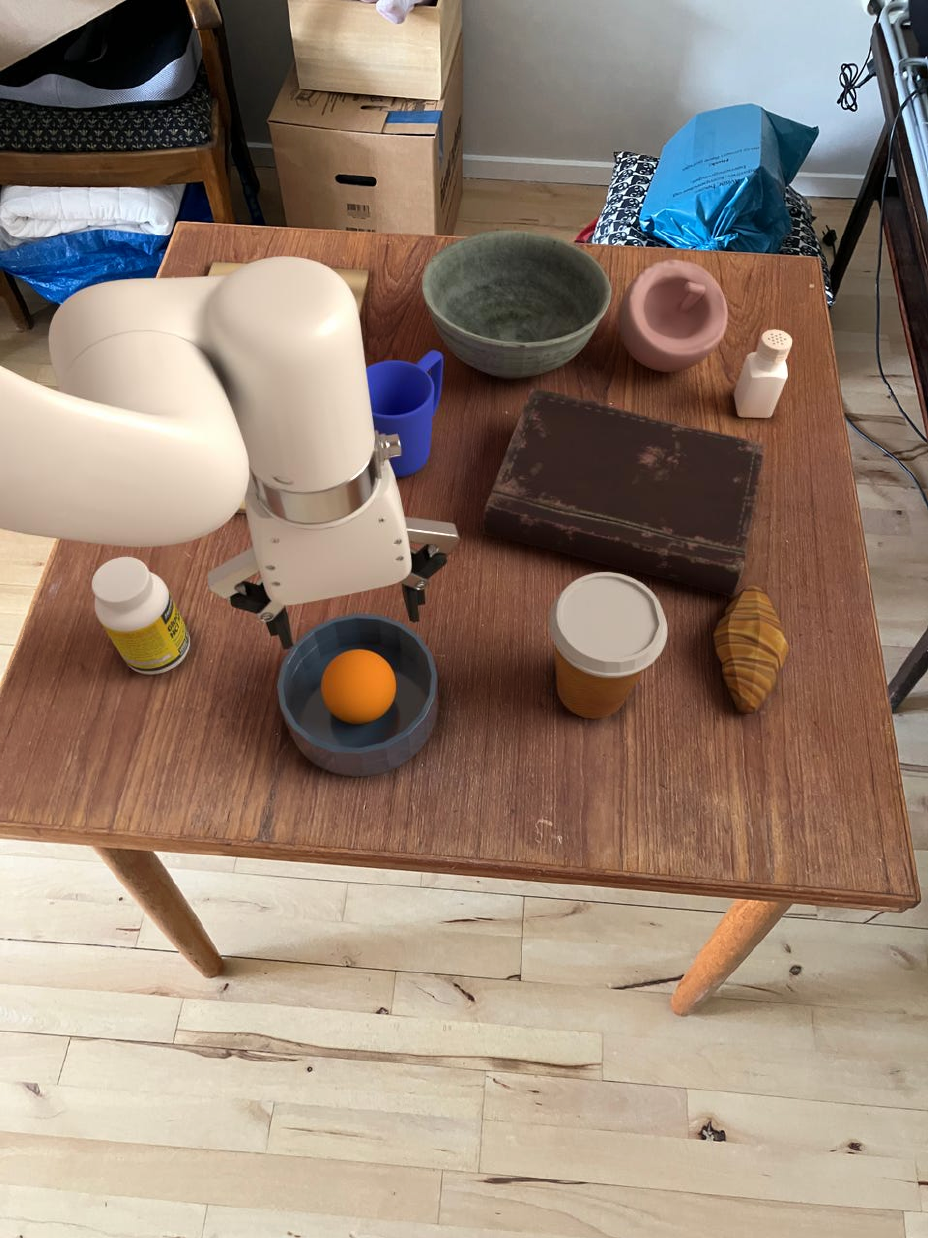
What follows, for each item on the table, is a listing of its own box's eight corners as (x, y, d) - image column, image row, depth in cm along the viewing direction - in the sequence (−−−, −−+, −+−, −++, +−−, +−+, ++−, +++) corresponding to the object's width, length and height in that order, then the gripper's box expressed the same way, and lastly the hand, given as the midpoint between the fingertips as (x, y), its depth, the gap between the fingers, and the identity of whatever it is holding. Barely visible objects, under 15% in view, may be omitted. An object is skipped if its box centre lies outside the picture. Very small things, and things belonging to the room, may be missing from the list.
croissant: (711, 589, 86) (724, 558, 82) (782, 601, 85) (799, 571, 81) (703, 711, 79) (717, 684, 74) (780, 725, 78) (799, 699, 74)
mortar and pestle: (641, 405, 100) (660, 321, 90) (593, 339, 106) (606, 254, 96) (732, 378, 102) (760, 293, 92) (681, 315, 108) (702, 230, 98)
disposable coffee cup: (623, 752, 76) (648, 685, 66) (522, 710, 79) (531, 640, 68) (657, 665, 81) (685, 591, 71) (561, 629, 83) (575, 551, 73)
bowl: (407, 403, 100) (402, 331, 91) (442, 288, 111) (441, 214, 102) (590, 427, 98) (602, 356, 89) (607, 307, 109) (619, 234, 100)
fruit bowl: (298, 792, 74) (289, 769, 70) (278, 659, 81) (268, 630, 77) (453, 757, 76) (452, 732, 72) (420, 630, 83) (418, 600, 79)
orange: (332, 743, 76) (322, 710, 71) (321, 680, 79) (310, 643, 74) (404, 727, 77) (400, 693, 72) (390, 666, 80) (385, 628, 75)
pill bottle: (198, 664, 81) (164, 596, 72) (130, 686, 80) (87, 619, 70) (184, 611, 84) (150, 540, 75) (119, 632, 83) (76, 561, 74)
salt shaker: (766, 395, 101) (793, 326, 93) (772, 420, 98) (799, 352, 90) (731, 394, 101) (754, 325, 93) (736, 419, 98) (760, 351, 90)
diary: (729, 604, 85) (743, 574, 81) (481, 541, 89) (482, 509, 85) (754, 467, 94) (768, 433, 90) (530, 416, 98) (533, 381, 94)
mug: (470, 429, 97) (471, 357, 89) (407, 498, 92) (402, 429, 83) (410, 400, 100) (405, 328, 91) (345, 466, 94) (333, 395, 86)
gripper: (442, 397, 55) (448, 559, 70) (164, 447, 53) (230, 603, 68) (471, 485, 52) (471, 637, 66) (172, 542, 49) (240, 686, 64)
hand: (349, 620), depth 67 cm, fingers open, 9 cm apart
